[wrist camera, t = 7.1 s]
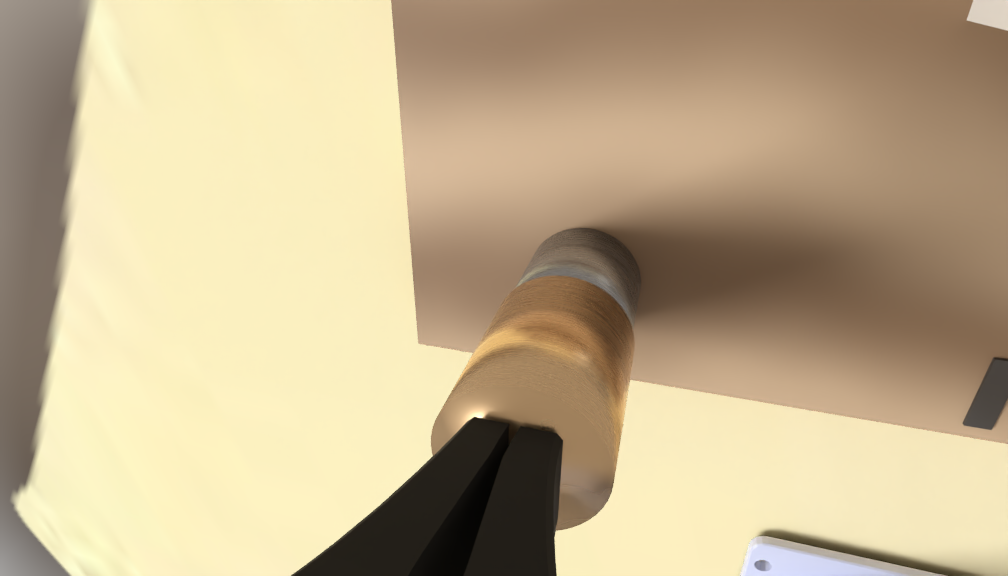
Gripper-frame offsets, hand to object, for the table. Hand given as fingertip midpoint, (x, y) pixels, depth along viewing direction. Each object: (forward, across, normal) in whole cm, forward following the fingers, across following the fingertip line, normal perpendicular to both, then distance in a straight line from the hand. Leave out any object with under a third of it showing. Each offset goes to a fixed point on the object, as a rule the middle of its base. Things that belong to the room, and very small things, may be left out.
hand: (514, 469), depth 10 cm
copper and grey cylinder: (+7, 0, 0) cm, 7 cm away
